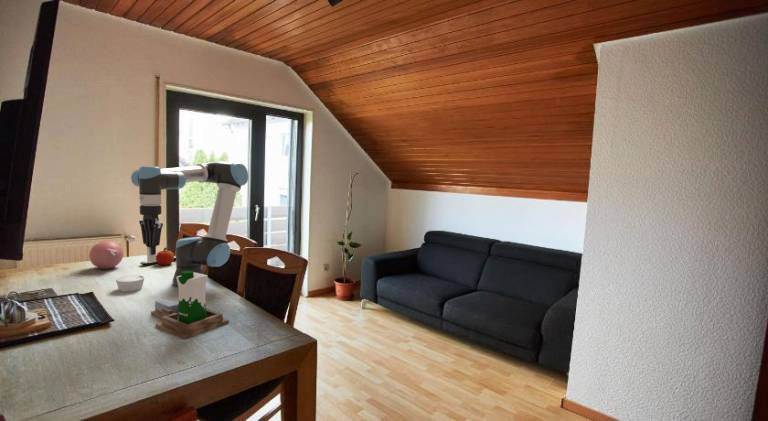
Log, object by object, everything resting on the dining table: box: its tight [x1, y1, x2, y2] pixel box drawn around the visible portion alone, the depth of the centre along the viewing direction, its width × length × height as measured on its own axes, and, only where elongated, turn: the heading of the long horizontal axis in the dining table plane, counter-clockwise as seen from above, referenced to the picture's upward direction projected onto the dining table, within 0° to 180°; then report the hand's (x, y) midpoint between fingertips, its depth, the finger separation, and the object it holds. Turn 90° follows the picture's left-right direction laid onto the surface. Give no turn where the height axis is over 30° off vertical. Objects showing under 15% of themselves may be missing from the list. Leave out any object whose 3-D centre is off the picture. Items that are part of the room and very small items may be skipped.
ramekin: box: [115, 274, 145, 293], centre depth 183 cm, size 11×11×5 cm
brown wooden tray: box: [150, 302, 230, 340], centre depth 150 cm, size 18×31×4 cm, turn 60°
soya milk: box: [176, 270, 209, 324], centre depth 145 cm, size 9×9×20 cm
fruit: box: [156, 247, 175, 266], centre depth 227 cm, size 10×10×10 cm
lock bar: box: [154, 298, 179, 314], centre depth 155 cm, size 4×10×4 cm, turn 60°
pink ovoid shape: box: [88, 240, 124, 270], centre depth 212 cm, size 15×20×15 cm
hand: (151, 262), depth 158 cm, fingers closed
